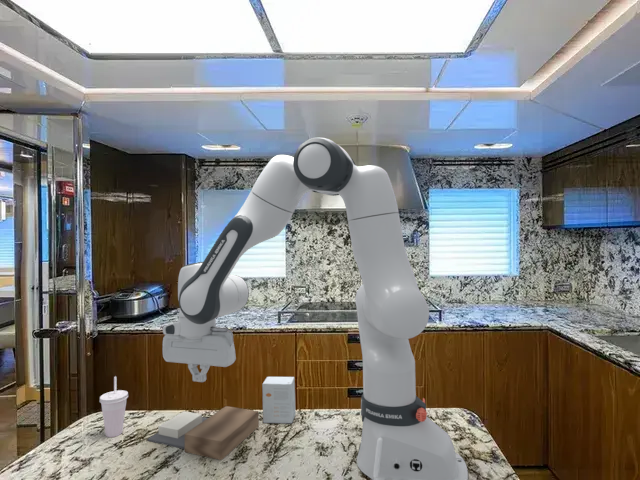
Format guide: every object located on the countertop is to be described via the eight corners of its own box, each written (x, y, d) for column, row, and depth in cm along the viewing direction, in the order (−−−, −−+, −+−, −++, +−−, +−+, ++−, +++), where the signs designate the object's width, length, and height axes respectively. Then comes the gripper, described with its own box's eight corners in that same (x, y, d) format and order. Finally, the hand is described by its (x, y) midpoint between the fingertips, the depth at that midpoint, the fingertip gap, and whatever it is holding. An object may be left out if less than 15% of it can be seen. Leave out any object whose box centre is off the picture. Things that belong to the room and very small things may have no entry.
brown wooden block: (258, 426, 96) (258, 411, 96) (221, 460, 81) (221, 441, 81) (226, 421, 99) (225, 406, 99) (184, 451, 84) (184, 434, 84)
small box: (295, 414, 103) (295, 376, 103) (292, 424, 97) (291, 383, 97) (267, 413, 104) (267, 375, 104) (262, 423, 98) (262, 383, 98)
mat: (223, 422, 98) (223, 420, 98) (187, 449, 85) (187, 447, 85) (187, 416, 103) (187, 414, 103) (147, 440, 90) (147, 438, 90)
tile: (183, 411, 100) (183, 418, 100) (158, 426, 92) (158, 434, 92) (202, 414, 98) (202, 421, 98) (177, 430, 90) (177, 438, 89)
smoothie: (133, 427, 97) (132, 373, 97) (120, 439, 90) (120, 381, 91) (108, 427, 96) (108, 373, 97) (93, 440, 90) (93, 382, 90)
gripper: (239, 325, 93) (241, 380, 93) (175, 322, 100) (177, 373, 100) (224, 330, 87) (226, 389, 87) (157, 327, 94) (159, 381, 94)
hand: (199, 381), depth 93 cm, fingers closed
